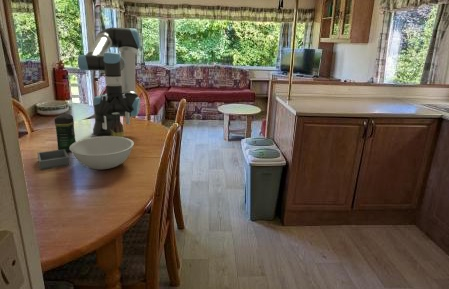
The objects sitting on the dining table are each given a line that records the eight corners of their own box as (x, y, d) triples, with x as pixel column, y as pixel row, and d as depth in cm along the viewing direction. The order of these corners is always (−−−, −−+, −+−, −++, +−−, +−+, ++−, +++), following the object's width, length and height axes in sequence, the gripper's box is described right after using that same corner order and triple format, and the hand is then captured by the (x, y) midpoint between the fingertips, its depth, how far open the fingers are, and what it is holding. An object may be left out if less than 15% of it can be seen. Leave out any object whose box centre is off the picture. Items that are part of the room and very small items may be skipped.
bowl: (74, 157, 152) (71, 138, 149) (132, 152, 162) (131, 134, 159) (69, 180, 128) (66, 158, 125) (137, 173, 138) (136, 152, 135)
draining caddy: (65, 156, 153) (64, 149, 152) (69, 165, 143) (68, 157, 142) (38, 160, 147) (37, 152, 146) (40, 170, 137) (39, 161, 136)
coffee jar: (73, 152, 158) (69, 117, 153) (56, 153, 157) (51, 117, 151) (78, 146, 167) (74, 112, 162) (62, 147, 166) (58, 112, 160)
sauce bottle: (114, 147, 168) (111, 111, 162) (125, 147, 169) (123, 111, 162) (110, 151, 162) (107, 114, 156) (123, 151, 163) (120, 114, 156)
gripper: (94, 87, 143) (98, 132, 149) (139, 84, 162) (141, 123, 168) (85, 86, 147) (90, 129, 154) (130, 82, 166) (132, 121, 173)
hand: (116, 126), depth 161 cm, fingers open, 13 cm apart
